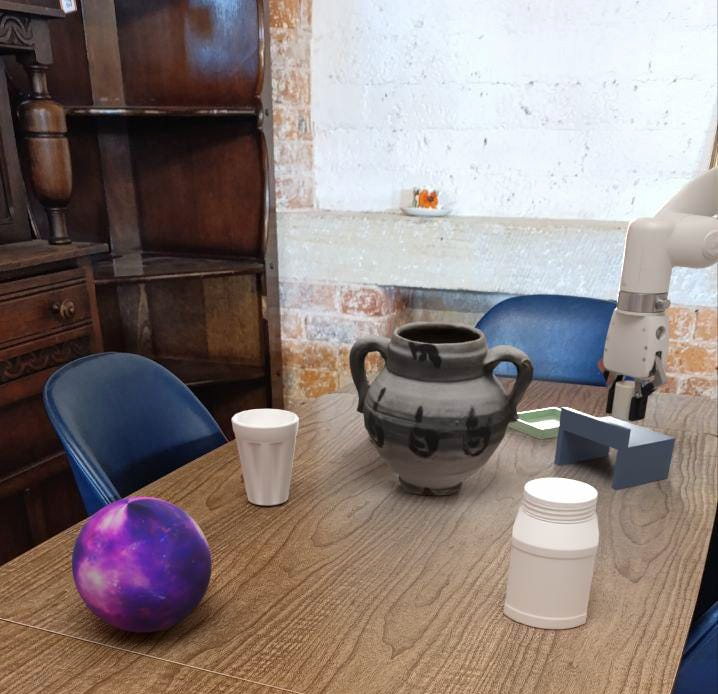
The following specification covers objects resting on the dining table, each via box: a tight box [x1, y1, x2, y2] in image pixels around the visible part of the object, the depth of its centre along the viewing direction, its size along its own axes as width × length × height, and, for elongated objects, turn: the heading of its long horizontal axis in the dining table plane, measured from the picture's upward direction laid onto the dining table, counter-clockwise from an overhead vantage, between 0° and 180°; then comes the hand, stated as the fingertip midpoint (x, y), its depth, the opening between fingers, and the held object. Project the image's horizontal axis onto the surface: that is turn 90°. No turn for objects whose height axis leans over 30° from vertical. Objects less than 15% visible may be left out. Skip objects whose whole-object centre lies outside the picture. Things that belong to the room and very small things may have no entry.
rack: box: [553, 406, 676, 491], centre depth 149 cm, size 12×15×10 cm
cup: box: [231, 408, 300, 506], centre depth 133 cm, size 10×10×13 cm
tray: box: [507, 406, 561, 440], centre depth 173 cm, size 13×11×2 cm
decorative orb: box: [71, 496, 212, 633], centre depth 97 cm, size 15×15×15 cm
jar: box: [502, 477, 600, 630], centre depth 103 cm, size 12×10×15 cm
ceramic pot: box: [349, 321, 535, 496], centre depth 137 cm, size 29×23×25 cm
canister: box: [610, 380, 635, 421], centre depth 146 cm, size 4×4×6 cm
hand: (624, 415), depth 147 cm, fingers closed on canister, 4 cm apart
